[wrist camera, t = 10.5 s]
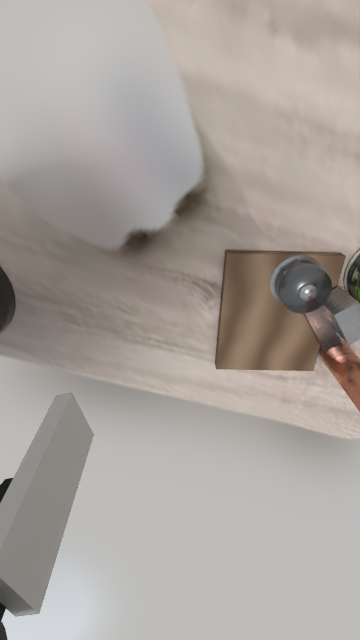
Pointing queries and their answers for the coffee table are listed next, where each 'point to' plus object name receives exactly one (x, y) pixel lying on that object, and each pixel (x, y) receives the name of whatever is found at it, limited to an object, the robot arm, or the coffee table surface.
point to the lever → (325, 318)
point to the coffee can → (353, 277)
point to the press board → (266, 313)
